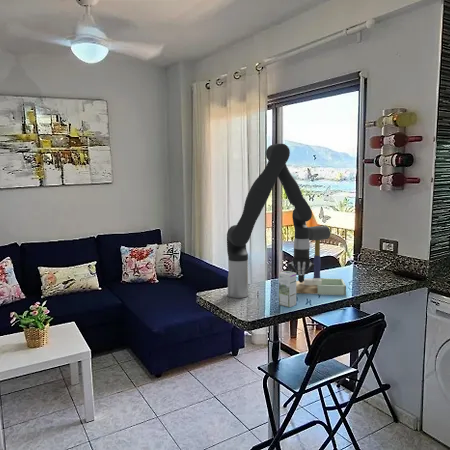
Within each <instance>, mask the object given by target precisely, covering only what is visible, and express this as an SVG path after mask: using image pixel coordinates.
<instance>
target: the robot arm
mask: <svg viewBox="0 0 450 450" xmlns="http://www.w3.org/2000/svg"><path fill="white" fill-rule="evenodd" d="M290 155H291V151H290V148H289V146H288V145H287V144H286V143H273V144H270V145H269V146H268V147H267V149H266V151H265V157H266V159H267V164H266V165H265V167H264V169H263V170H262V172H261V173H260V174H259V175H258V177H257V178H256V179H255V180H254V181H253V183H252V184H251V186H250V189H249V191H248V193H247V194H246V195H247V196H246V198H245V202H244V206H243V211H242V214H241V217H240V218H239V220H238V222H237V223H236V224H235V225H231V226H230V227H229V228H228V230H227V233H226V251H227V257H228V259H227V261H228V262H227V263H228V264H227V265H228V267H227V268H228V276H227V297H228V298H234V299H242V298H247V297H248V296H249V253H248V251H247V243H248V242H249V240H250V239H251V236H252V232H253V230H254V227H255V225H256V223H257V220H258V219H259V217H260V215H261V213H262V211H263V209H264V207H265V205H266V203H267V201H268V200H269V197H270V195H271V192H272V190H273V188H274V186H275V183H276V182H277V179H279V182H280V183H281V185H282V188H283V191H284V192H285V193H284V194H285V195H286V198H287V199H288V202H289V204H290V205H292V206H293V207H294V208H293V211H292V215H291V216H292V217H291V218H292V224H293V228H294V240H293V257H292V258H293V259H292V260H291V262H288V267H289V268H290V269H291V270H292V272H295V273H296V275H297V279H298V280H297V281H300V283H303V281H304V278H305V275H308V274H309V273H310V272H311V271H312V270H313V269H314V264H313V262H312V261H311V259H310V247H311V246H310V242H311V241H309V228H308V227H309V226H308V225H307V223H306V222H310V220H311V219H312V217H313V212H312V208H311V207H310V205H309V203H308V202H307V200H306V199H305V198H304V195H303V193H302V190H301V188H300V186H299V184H298V181H296V179H295V178H294V176H293V175H292V173H291V172H290V170H289V168H288V165H287V162H288V161H289V159H290ZM294 266H295V267H296V268H295V267H294ZM306 268H307V269H306Z"/></svg>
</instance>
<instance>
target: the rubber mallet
mask: <svg viewBox="0 0 450 450" xmlns="http://www.w3.org/2000/svg"><path fill="white" fill-rule="evenodd" d="M307 227H308V228H309V242H312V241H313V242H314V257H313V262H312V263H313V264H314V267H313V277H312V278H321V265H322V264H321V263H322V261H321V260H322V259H321V241H322V240H323V241H324V240H327V239H329V238H330V236H331V229H330V227H328V226H327V225H314V226H307Z"/></svg>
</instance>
